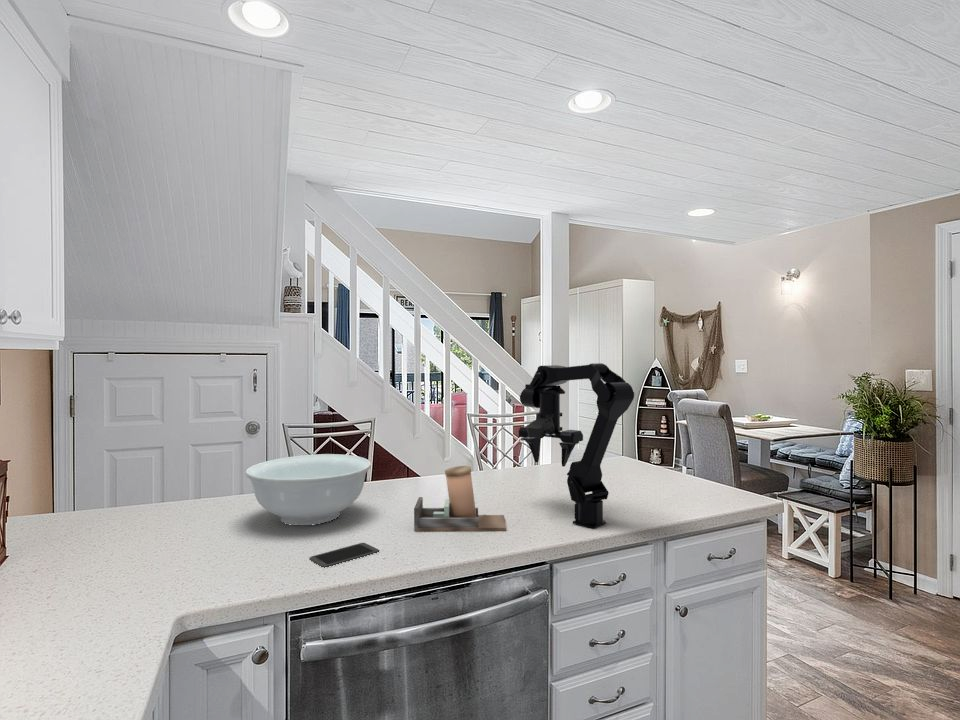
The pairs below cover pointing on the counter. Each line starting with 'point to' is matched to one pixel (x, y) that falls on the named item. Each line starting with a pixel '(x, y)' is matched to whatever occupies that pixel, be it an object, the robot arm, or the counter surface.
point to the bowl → (308, 486)
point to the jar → (460, 492)
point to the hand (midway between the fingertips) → (549, 464)
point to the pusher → (446, 511)
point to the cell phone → (343, 554)
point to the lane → (454, 521)
